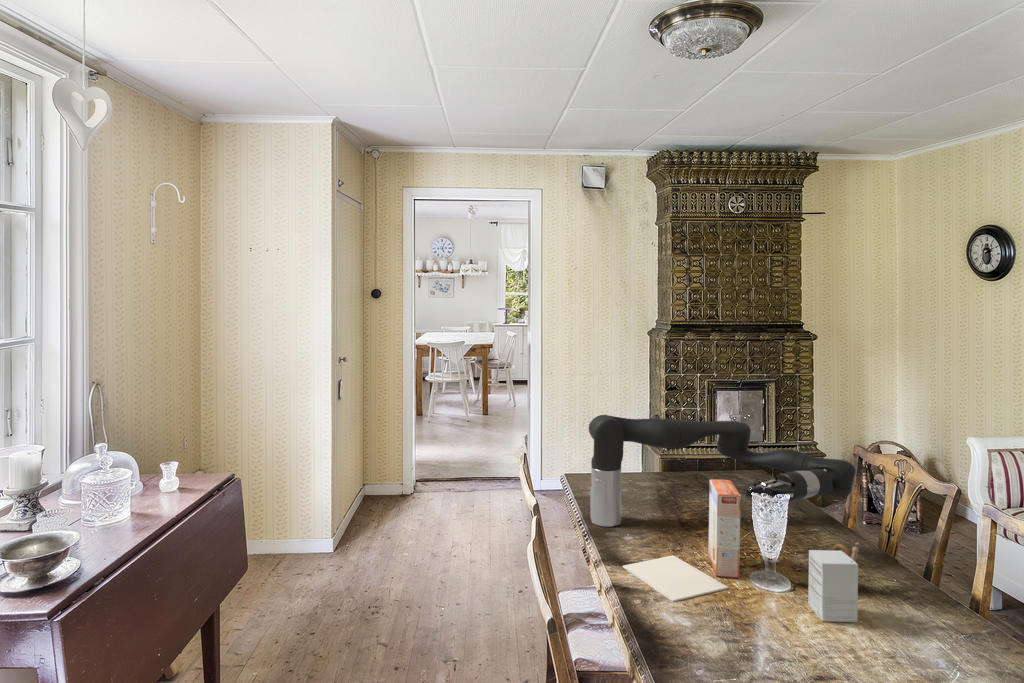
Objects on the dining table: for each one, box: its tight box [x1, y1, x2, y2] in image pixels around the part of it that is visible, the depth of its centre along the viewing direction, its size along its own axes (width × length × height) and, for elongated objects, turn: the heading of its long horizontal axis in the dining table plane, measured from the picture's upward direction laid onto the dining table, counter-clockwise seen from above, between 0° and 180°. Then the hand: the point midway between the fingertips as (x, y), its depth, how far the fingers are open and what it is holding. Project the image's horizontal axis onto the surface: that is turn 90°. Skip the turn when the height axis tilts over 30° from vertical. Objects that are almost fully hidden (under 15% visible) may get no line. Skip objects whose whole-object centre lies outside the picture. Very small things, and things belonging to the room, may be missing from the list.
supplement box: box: [807, 549, 859, 623], centre depth 126 cm, size 7×7×13 cm
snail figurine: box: [832, 542, 860, 563], centre depth 138 cm, size 5×6×12 cm
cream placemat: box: [622, 555, 729, 603], centre depth 144 cm, size 20×16×1 cm
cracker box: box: [707, 478, 742, 579], centre depth 150 cm, size 14×6×21 cm, turn 168°
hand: (748, 493), depth 153 cm, fingers closed
